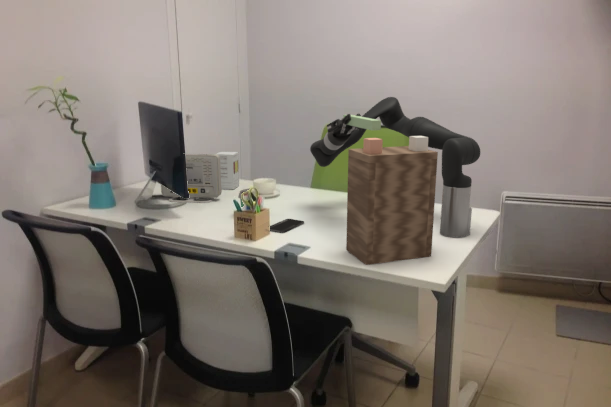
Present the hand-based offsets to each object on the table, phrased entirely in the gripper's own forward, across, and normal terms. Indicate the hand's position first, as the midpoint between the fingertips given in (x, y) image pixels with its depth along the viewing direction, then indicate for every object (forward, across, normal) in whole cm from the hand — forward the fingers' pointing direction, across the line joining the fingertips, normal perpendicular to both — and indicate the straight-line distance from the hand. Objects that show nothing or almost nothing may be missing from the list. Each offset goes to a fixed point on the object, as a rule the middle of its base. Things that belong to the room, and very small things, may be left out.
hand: (354, 116), depth 179 cm
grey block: (+21, +8, +21) cm, 30 cm away
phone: (-30, -21, +29) cm, 47 cm away
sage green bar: (+3, 0, +5) cm, 6 cm away
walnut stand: (+3, 0, +48) cm, 48 cm away
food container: (-45, -31, +20) cm, 58 cm away
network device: (-75, -47, +3) cm, 89 cm away
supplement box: (-92, -27, -7) cm, 96 cm away
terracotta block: (+21, -8, +21) cm, 31 cm away
